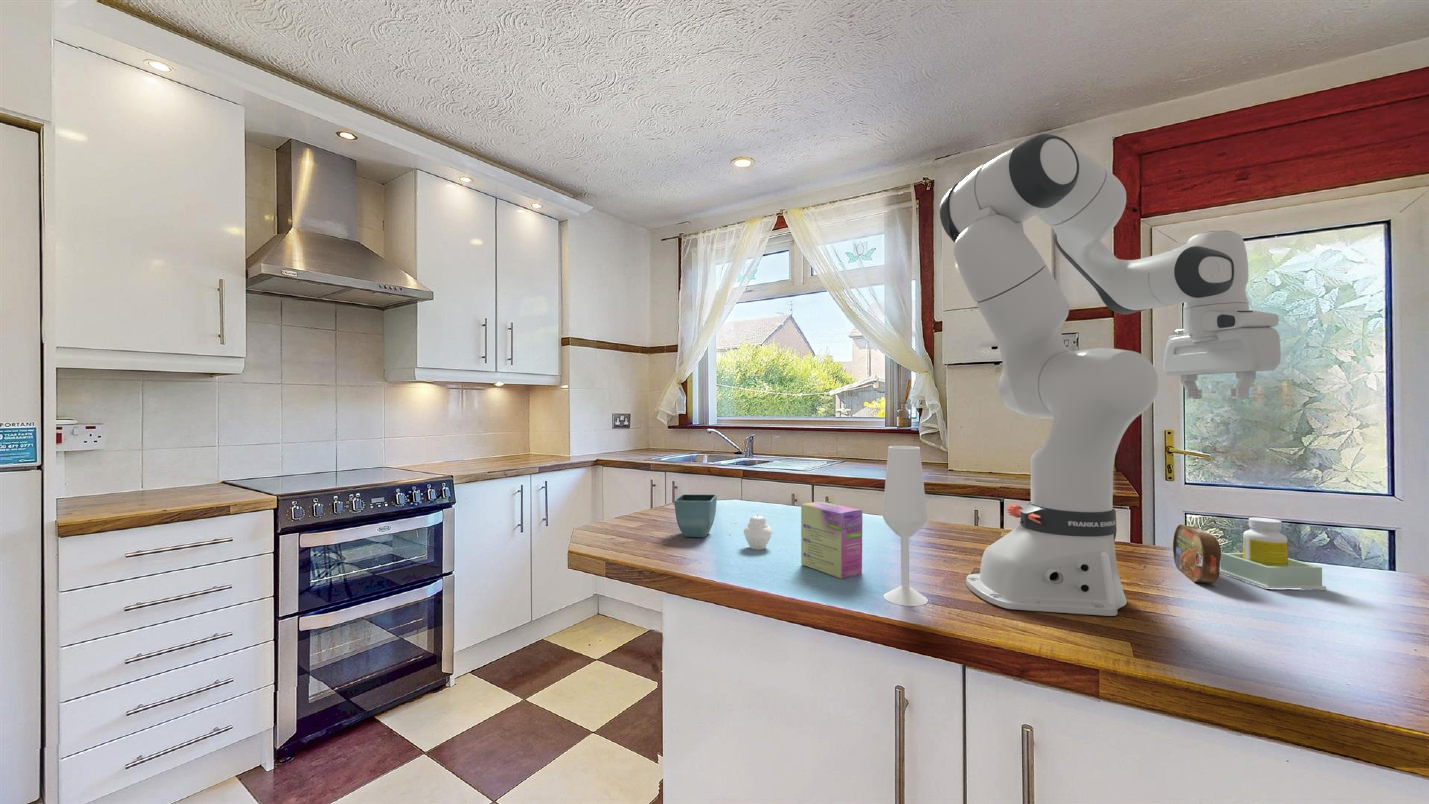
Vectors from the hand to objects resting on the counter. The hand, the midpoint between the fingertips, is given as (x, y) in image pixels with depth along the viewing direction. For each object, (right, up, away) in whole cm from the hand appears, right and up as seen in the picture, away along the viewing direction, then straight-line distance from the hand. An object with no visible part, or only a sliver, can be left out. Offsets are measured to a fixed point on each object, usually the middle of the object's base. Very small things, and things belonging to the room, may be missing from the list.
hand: (1215, 398), depth 100 cm
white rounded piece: (-82, -32, +18) cm, 90 cm away
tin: (-7, -32, -4) cm, 32 cm away
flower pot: (-96, -32, +29) cm, 105 cm away
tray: (+3, -31, -7) cm, 32 cm away
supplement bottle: (+3, -31, -6) cm, 31 cm away
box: (-70, -32, +2) cm, 77 cm away
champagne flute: (-61, -32, -13) cm, 70 cm away
